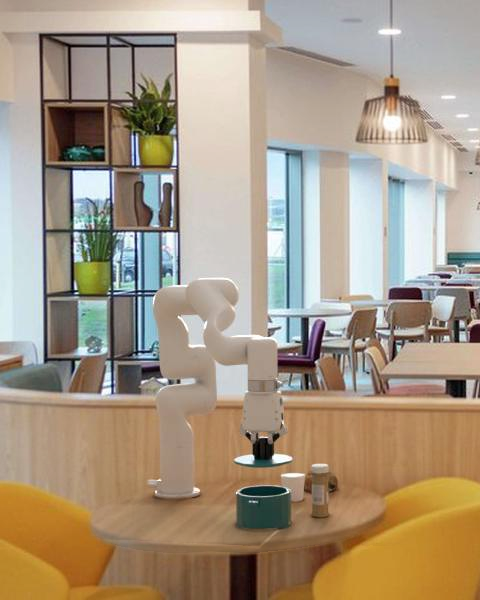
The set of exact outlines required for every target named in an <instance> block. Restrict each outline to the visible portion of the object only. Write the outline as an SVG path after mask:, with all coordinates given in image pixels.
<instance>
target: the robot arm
mask: <svg viewBox="0 0 480 600" xmlns="http://www.w3.org/2000/svg"><path fill="white" fill-rule="evenodd" d="M239 293H240V292H239V289H238V286H237V285H236V283H235V282H234V281H233V280H231V279H230V278H228V277H227V278H226V277H203V278H202V277H201V278H195V279H194V280H191V282H189V283H188V284H180V285H179V284H177V285H176V284H175V285H168V286H167V285H166V286H164V287H161V288H159V289H158V290H157V291H156V292H155V294H154V296H153V299H152V312H153V313H152V314H153V318H154V322H155V324H156V329H157V334H158V355H159V356H158V358H159V370H160V374H161V376H162V377H163V378H164V379H167V380H171V381H172V380H189V379H194V380H193V381H194V382H189V383H175V384H170V385H165V386H163V387H161V388H160V389H159V390H158V391H157V393H156V396H155V407H156V411H157V417H158V426H159V478H158V479H148V480H147V481H146V486H147V488H149V489H150V488H152V489H153V488H155V489H156V490H155V491H154V497H158V498H163V499H185V498H188V499H189V498H190V499H191V498H196V497H198V496H199V495H200V494H201V490H200V488H198V487H195V435H194V434H195V433H194V430H193V428H192V426H191V425H190V423H189V422H188V421H187V418H192V417H197V416H199V417H200V416H207V415H210V414H212V413H213V412H214V411H215V409H216V407H217V402H218V390H217V367H216V363H218V364H219V365H221V366H225V367H229V366H231V367H232V366H240V365H241V366H242V365H243V366H244V365H247V390H246V391H245V392H244V398H243V405H242V414H241V415H242V416H241V424H240V427H239V429H238V434H241V435H242V436H244V437H246V438H247V439H248V441H249V442H250V443H251V444H252V454H253V456H254V459H255V460H257V459H259V451H258V437H260V432H263V433H267V437H268V444H267V445H266V459H267V460H270V459H271V458H272V456H274V454H275V442H276V441H277V440H278V439H279V438H281V437H283V436H285V435H287V434H288V433H289V431H288V428H287V426H286V423H285V422H286V420H285V408H284V400H283V394H282V391H280V390H279V389H280V388H284V382H283V381H279V378H278V371H279V370H278V341H277V340H276V339H275V338H274V337H267V336H266V337H264V336H261V335H259V334H248V335H247V334H243V335H228V336H226V335H224V334H223V332H224V331H226V330H227V329H228V328H230V327H231V326H232V324H233V323H234V321H235V319H236V310H235V308H234V307H235V306H236V305H237V303H238V301H239V298H240V296H239ZM181 316H198V317H199V318H200V319H201V320H202V322H203V323H204V326H203V329H202V332H203V333H202V334H203V335H202V338H203V344H190V333H189V332H190V331H189V328H188V326H187V324H186V322H184V320H183V318H182V317H181Z"/></svg>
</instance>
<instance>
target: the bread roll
mask: <svg viewBox="0 0 480 600" xmlns="http://www.w3.org/2000/svg"><path fill="white" fill-rule="evenodd" d="M338 486H339V481H338V478H337V476H336V474H335V473H334V472H332V471H331V470H330V469H329V472H328V493H330V492H332V491H335V490H336V489H338ZM304 490H305V491H306V492H309V493H312V472H311V470H310V471H308V472H307V473H305V481H304Z"/></svg>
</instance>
